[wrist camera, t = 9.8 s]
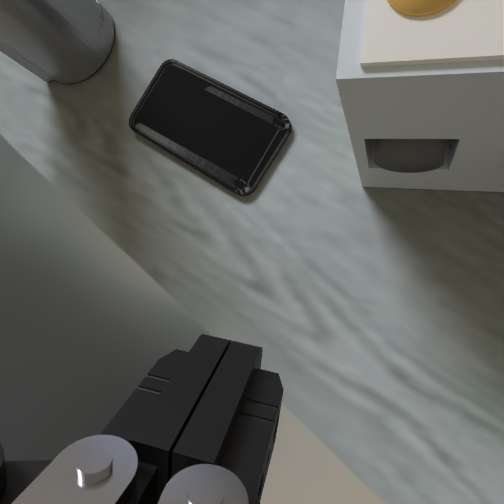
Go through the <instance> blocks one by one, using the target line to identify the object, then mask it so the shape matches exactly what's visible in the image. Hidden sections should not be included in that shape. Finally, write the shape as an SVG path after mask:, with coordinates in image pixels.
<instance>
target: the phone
mask: <svg viewBox="0 0 504 504" xmlns="http://www.w3.org/2000/svg"><path fill="white" fill-rule="evenodd" d="M129 126H130V128H131V129H132V130H133V131H135V132H136V133H137V134H139V135H141V136H142V137H144V138H146V139H147V140H149V141H151V142H152V143H154V144H155V145H157V146H159V147H160V148H162V149H164V150H165V151H167V152H169V153H170V154H172V155H174V156H175V157H177V158H178V159H180V160H182V161H183V162H185V163H187V164H188V165H190V166H192V167H193V168H195V169H197V170H198V171H200V172H202V173H203V174H205V175H206V176H208V177H210V178H211V179H213V180H215V181H216V182H218V183H220V184H221V185H223V186H225V187H226V188H228V189H229V190H231V191H233V192H234V193H236V194H238V195H240V196H246V195H249V194H251V193H252V192H253V191H254V190H255V189H256V187H257V186H258V184H259V182H260V181H261V179H262V178H263V176H264V174H265V173H266V171H267V170H268V168H269V166H270V165H271V163H272V162H273V160H274V159H275V157H276V155H277V154H278V152H279V151H280V149H281V147H282V146H283V144H284V143H285V141H286V139H287V138H288V136H289V135H290V132H291V123H290V121H289V119H288V118H287V116H286V115H284V114H283V113H281V112H279V111H277V110H275V109H273V108H271V107H269V106H267V105H265V104H263V103H261V102H259V101H257V100H255V99H253V98H251V97H249V96H247V95H245V94H243V93H241V92H239V91H237V90H235V89H233V88H231V87H229V86H227V85H225V84H223V83H221V82H219V81H217V80H215V79H213V78H211V77H209V76H207V75H205V74H202V73H200V72H198V71H196V70H194V69H192V68H190V67H188V66H186V65H184V64H182V63H180V62H178V61H176V60H174V59H169V60H167V61H165V62H164V63H162V65H161V66H160V68H159V69H158V71H157V72H156V74H155V76H154V77H153V79H152V81H151V82H150V84H149V86H148V87H147V89H146V91H145V92H144V94H143V96H142V97H141V99H140V100H139V102H138V104H137V105H136V107H135V109H134V110H133V112H132V114H131V115H130V118H129Z"/></svg>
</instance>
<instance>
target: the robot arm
mask: <svg viewBox="0 0 504 504" xmlns="http://www.w3.org/2000/svg"><path fill="white" fill-rule="evenodd" d="M113 39H114V25H113V20H112V18H111V16H110V14H109V13H108V12H107V10H106V9H105V8H104V7H103V6H102V5H101V4H100V3H99V1H98V0H0V51H1V52H3V53H4V54H6V55H7V56H9V57H10V58H12V59H13V60H14V61H16V62H17V63H19V64H20V65H22V66H23V67H25V68H26V69H28V70H29V71H31V72H32V73H34V74H35V75H37V76H38V77H40V78H41V79H43V80H44V81H45V82H49V81H51V80H56V81H59V82H61V83H68V84H70V83H77V82H79V81H82V80H85V79H86V78H88V77H89V76H91V75H92V74H93V73H95V72H96V71H97V70H98V69H99V68H100V66H101V65H102V64H103V63H104V61H105V60H106V58H107V56H108V54H109V52H110V50H111V47H112V44H113ZM261 359H262V347H257V346H253V345H249V344H244V343H240V342H236V341H231V340H226V339H222V338H218V337H213V336H209V335H204V334H202V335H201V336H200V337H199V338H198V340H197V341H196V343H195V344H194V346H193V347H192V348H191V350H190V351H189V352H185V351H181V350H177V349H176V350H174V351H173V352H171V353H169V354H168V355H166V356H164V357H162V358H161V359H159V360H158V362H157V363H156V364H155V365H154V367H153V368H152V369H151V370H150V372H149V373H148V376H147V377H145V378H144V379H143V381H142V382H141V383H140V384H139V387H138V389H136V390H135V391H134V392H133V393H132V395H131V396H130V397H129V398H128V400H127V401H126V402H125V404H124V405H123V406H122V407H121V409H120V410H119V411H118V413H117V414H116V415H115V416H114V418H113V419H112V420H111V422H110V423H109V424H108V425H107V427H106V428H105V429H104V431H103V432H102V433H101V434H100V435H95V436H90V437H86V438H83V439H81V440H78V441H76V442H75V443H73V444H71V445H70V446H68V447H67V448H65V449H64V450H63V451H62V452H61V453H60V454H59V455H58V456H57V457H56V458H55V459H54V460H44V461H5V457H4V450H3V447H2V445H1V443H0V504H260V499H261V495H262V491H263V487H264V482H265V479H266V475H267V471H268V467H269V463H270V459H271V455H272V451H273V447H274V443H275V439H276V432H277V426H278V420H279V414H280V407H281V402H282V396H283V387H282V384H281V380H280V377H279V374H278V373H274V372H270V371H265V370H261V369H260V367H261Z"/></svg>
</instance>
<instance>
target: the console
mask: <svg viewBox="0 0 504 504" xmlns="http://www.w3.org/2000/svg"><path fill="white" fill-rule="evenodd" d="M336 82H337V86H338V90H339V94H340V98H341V102H342V106H343V110H344V114H345V118H346V122H347V126H348V130H349V134H350V138H351V143H352V147H353V151H354V155H355V159H356V163H357V167H358V171H359V175H360V179H361V183H362V187H381V188H406V189H432V190H458V191H484V192H504V0H345V7H344V15H343V24H342V32H341V40H340V49H339V57H338V65H337V74H336ZM374 139H452V140H446V147H445V159H444V164H443V165H442V166H441V167H439V168H437V169H435V170H431V171H427V172H419V173H402V172H394V171H389V170H385V169H382V168H380V167H378V166H377V165H376V164H375V163H374V158H375V148H376V140H374Z"/></svg>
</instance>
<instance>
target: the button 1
mask: <svg viewBox="0 0 504 504" xmlns="http://www.w3.org/2000/svg"><path fill="white" fill-rule="evenodd" d="M445 147H446V139H376V148H375V158H374V163H375V164H376V165H377V166H378V167H380V168H382V169H385V170H389V171H394V172H402V173H419V172H427V171H431V170H435V169H437V168H439V167H441V166H442V165H443V164H444V159H445Z"/></svg>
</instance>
